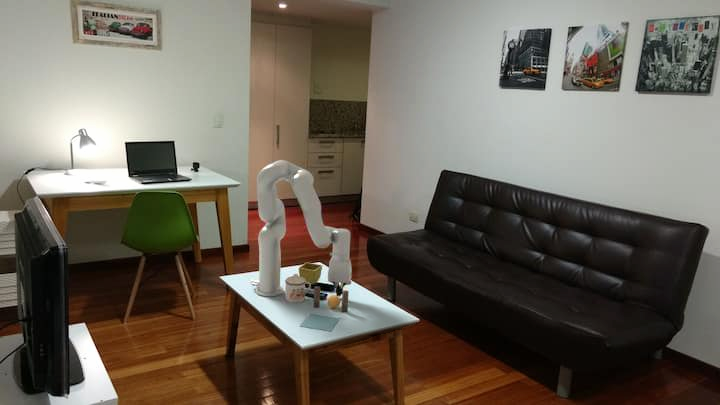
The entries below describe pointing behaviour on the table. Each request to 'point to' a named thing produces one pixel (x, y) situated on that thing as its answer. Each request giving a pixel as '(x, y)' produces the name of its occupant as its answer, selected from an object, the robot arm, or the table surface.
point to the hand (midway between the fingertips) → (339, 295)
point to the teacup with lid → (296, 288)
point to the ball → (333, 301)
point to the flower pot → (310, 272)
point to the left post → (316, 297)
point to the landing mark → (320, 322)
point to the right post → (345, 301)
